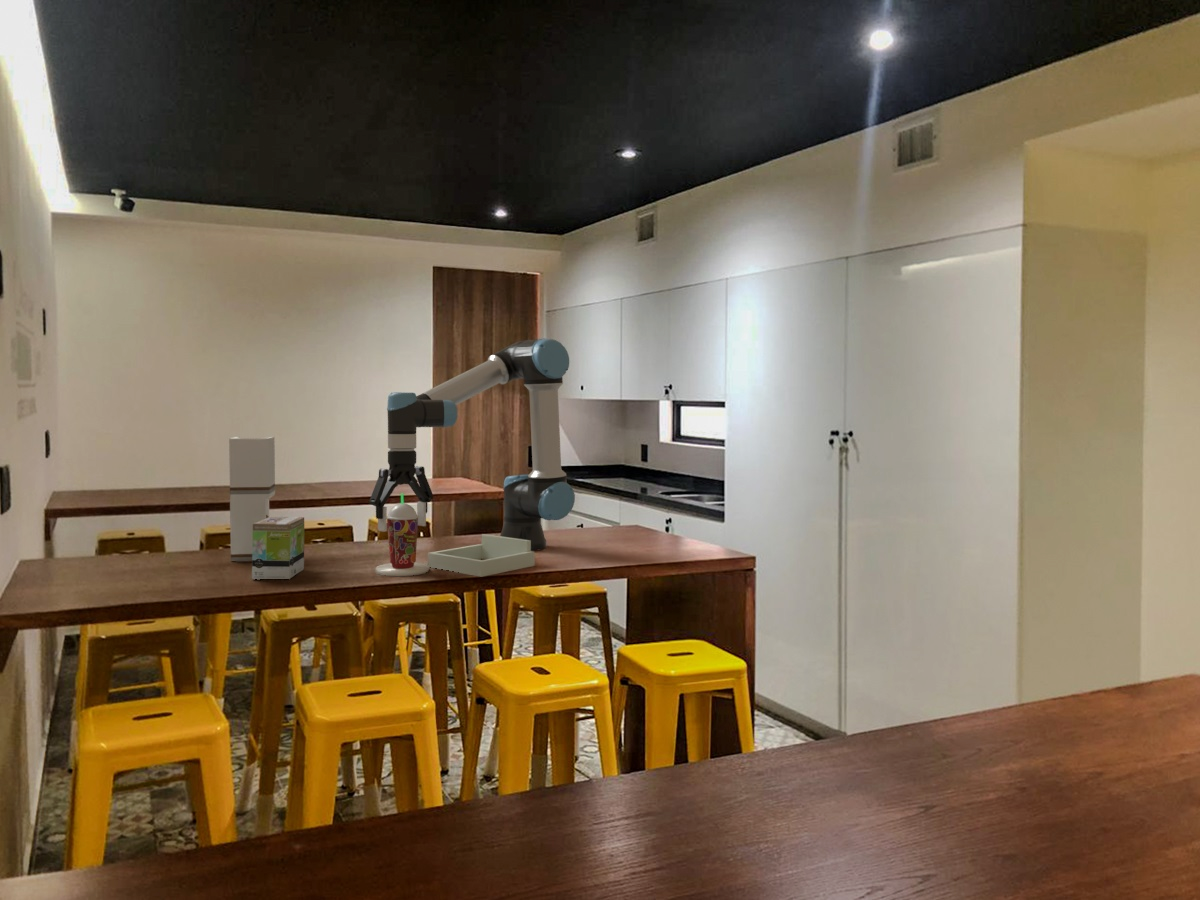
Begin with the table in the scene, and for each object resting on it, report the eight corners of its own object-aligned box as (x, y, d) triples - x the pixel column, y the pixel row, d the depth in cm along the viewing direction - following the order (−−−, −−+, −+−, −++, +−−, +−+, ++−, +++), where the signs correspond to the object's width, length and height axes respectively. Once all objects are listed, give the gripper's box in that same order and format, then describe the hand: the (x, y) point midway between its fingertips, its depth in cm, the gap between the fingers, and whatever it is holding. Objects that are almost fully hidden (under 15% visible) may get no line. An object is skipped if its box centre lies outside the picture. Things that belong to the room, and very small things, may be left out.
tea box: (291, 580, 237) (290, 523, 237) (251, 580, 237) (250, 523, 236) (305, 569, 252) (304, 515, 252) (267, 569, 252) (267, 515, 251)
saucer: (405, 564, 260) (405, 560, 260) (439, 570, 252) (439, 566, 252) (365, 571, 249) (365, 567, 249) (399, 578, 241) (399, 573, 241)
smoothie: (411, 570, 246) (410, 495, 244) (382, 569, 247) (381, 494, 246) (423, 564, 254) (422, 491, 253) (395, 563, 256) (394, 491, 254)
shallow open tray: (481, 557, 274) (481, 533, 273) (534, 565, 261) (534, 541, 260) (427, 567, 257) (427, 542, 257) (481, 576, 244) (481, 550, 244)
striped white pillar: (270, 560, 265) (268, 438, 263) (230, 561, 263) (229, 438, 261) (275, 553, 276) (274, 436, 274) (237, 554, 274) (236, 436, 272)
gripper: (427, 447, 261) (427, 522, 262) (355, 451, 241) (355, 531, 242) (446, 448, 256) (446, 524, 258) (373, 452, 237) (374, 534, 238)
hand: (402, 528), depth 250 cm, fingers open, 13 cm apart
